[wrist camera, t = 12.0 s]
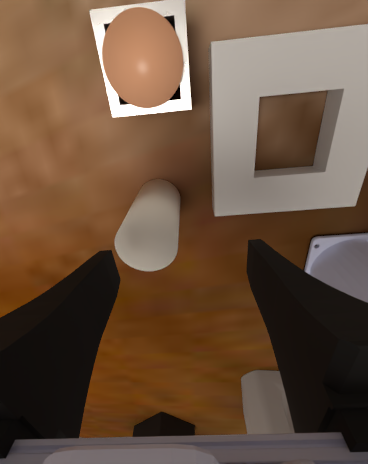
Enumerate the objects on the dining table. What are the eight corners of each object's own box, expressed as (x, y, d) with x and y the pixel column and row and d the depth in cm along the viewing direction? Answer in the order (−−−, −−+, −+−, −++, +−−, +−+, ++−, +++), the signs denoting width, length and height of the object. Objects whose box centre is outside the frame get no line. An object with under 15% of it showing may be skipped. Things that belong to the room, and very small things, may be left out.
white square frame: (341, 197, 21) (355, 205, 19) (212, 207, 21) (214, 216, 20) (388, 28, 15) (415, 18, 13) (208, 48, 16) (211, 42, 14)
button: (186, 104, 16) (186, 104, 13) (127, 110, 17) (113, 111, 13) (180, 24, 14) (179, 2, 11) (112, 32, 14) (91, 12, 11)
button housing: (190, 108, 17) (191, 109, 14) (127, 114, 18) (112, 117, 14) (185, 22, 15) (184, -2, 11) (111, 31, 15) (89, 9, 12)
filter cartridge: (181, 218, 22) (179, 270, 15) (141, 219, 22) (120, 271, 15) (179, 178, 20) (176, 217, 13) (135, 179, 20) (108, 219, 13)
